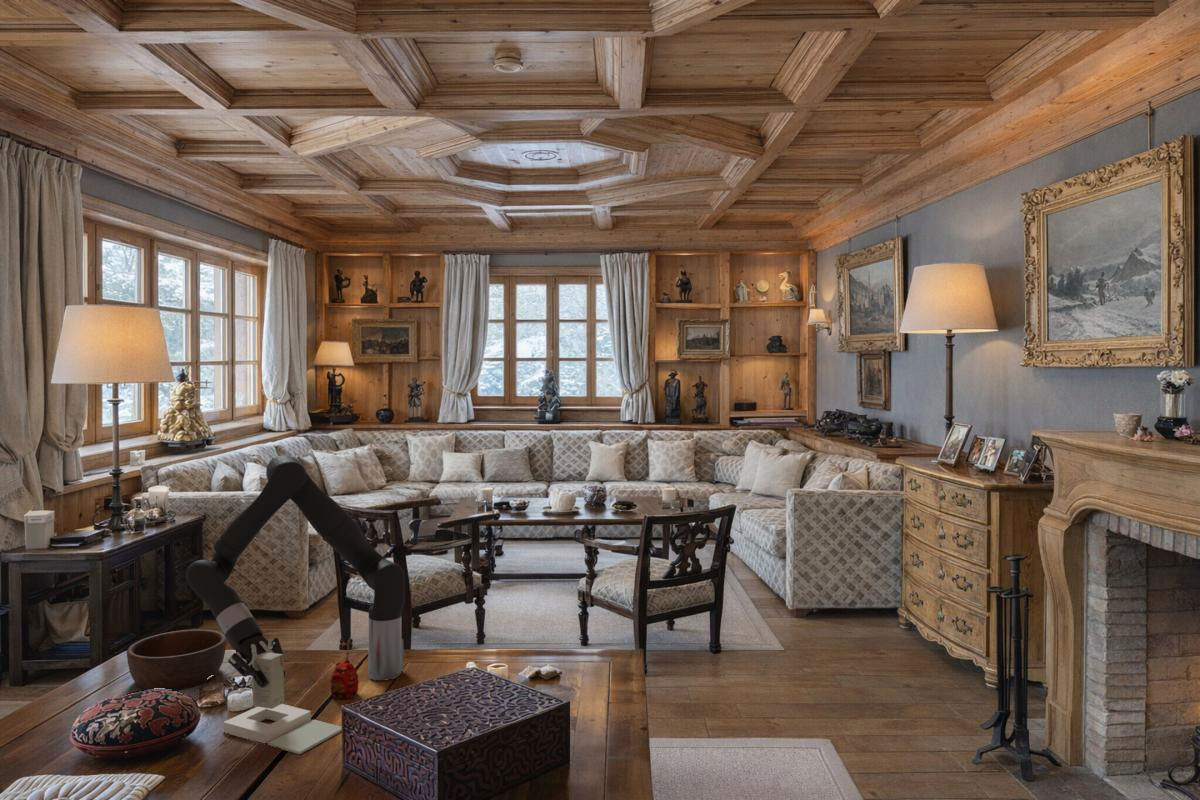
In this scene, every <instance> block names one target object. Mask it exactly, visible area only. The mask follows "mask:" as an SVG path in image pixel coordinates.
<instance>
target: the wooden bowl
mask: <svg viewBox="0 0 1200 800" xmlns="http://www.w3.org/2000/svg"><path fill="white" fill-rule="evenodd" d="M227 641H228V640H227V638H226V637H225V635H224V634H223V632H222V631H221V632H220V631H218V630H217V631H216V630H213V629H199V628H198V629H197V628H196V629H181V630H176V631H175V630H174V631H169V632H164V633H158V634H155V635H152V636H148V637H145V638H142V639H140V640H138V641H135V642H134V643H132V644H131V645H130V646H129V647H128V648H127V649H126V659H127V666H128V670H129V673H130V676H131V678H132V679H133V681H134V682H133V683H135V684H136V685H137V686H138V687H139V688H142V689H144V690H146V689H154V688H165V689H172V690H171V691H176V690H182V689H186V688H192V687H195V686H198V685H200V684H204V683H205V681H206V680H207V678H208V677H209V676H211V675H215V676H216V675H217V674H218V672H219V670H220V669H221V667H222V665H223V662H224V658H225V654H226V647H227ZM206 682H207V681H206Z"/></svg>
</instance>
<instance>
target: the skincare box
mask: <svg viewBox="0 0 1200 800" xmlns="http://www.w3.org/2000/svg"><path fill="white" fill-rule="evenodd" d="M283 655H284V653H283V654H278V653H271V652H269V653H267V652H264V653H261V654H259V655H257V657H256V660H257V664H258V665H259V671H260V670H261V671H262V672H263V674H264V676H265V677H266V679H267V680H268V684H267V685H266V686H265V687H263V688H261V686H258V684H257V683H256V681H255V679H254V678H253V676H251V678H252V679H251V680H252V706H253V707H264V708H270V709H273V708H275V707H277V706H278V705H280V704H285V677H284V671H285V669H284V668H285V667H284V657H283ZM252 668H253V666H252Z"/></svg>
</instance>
